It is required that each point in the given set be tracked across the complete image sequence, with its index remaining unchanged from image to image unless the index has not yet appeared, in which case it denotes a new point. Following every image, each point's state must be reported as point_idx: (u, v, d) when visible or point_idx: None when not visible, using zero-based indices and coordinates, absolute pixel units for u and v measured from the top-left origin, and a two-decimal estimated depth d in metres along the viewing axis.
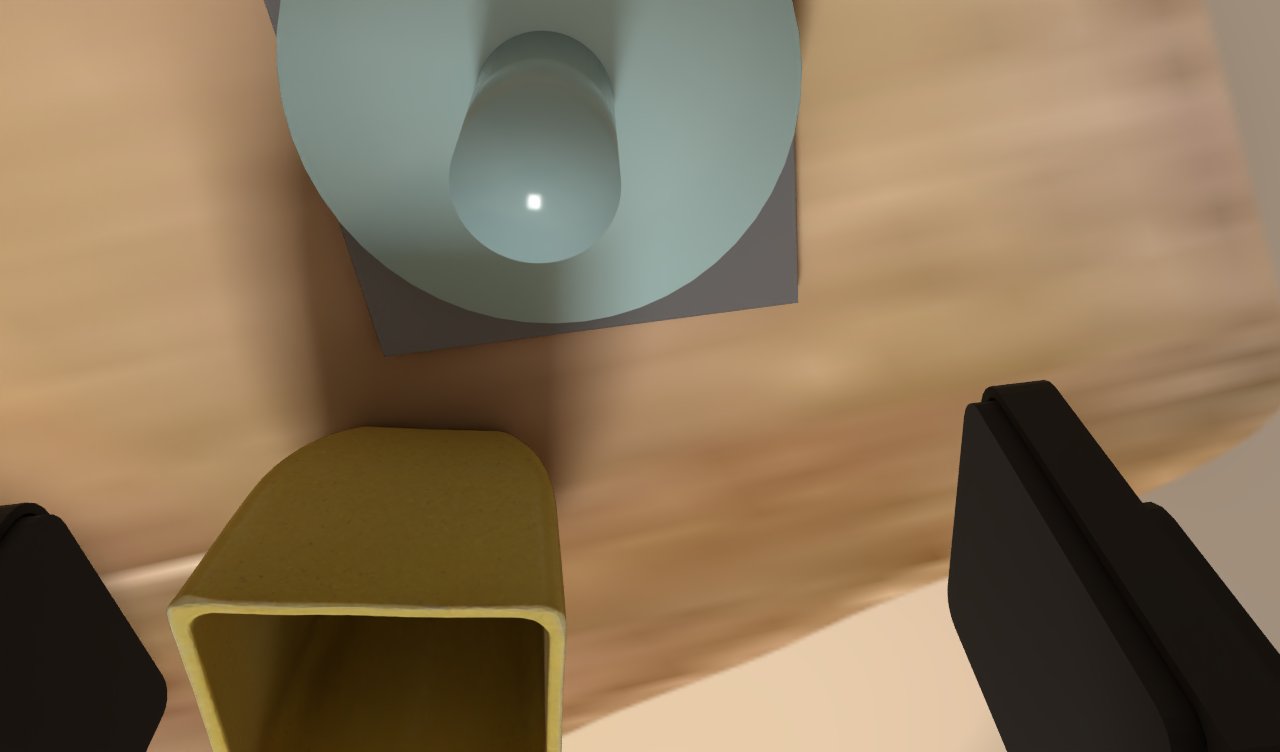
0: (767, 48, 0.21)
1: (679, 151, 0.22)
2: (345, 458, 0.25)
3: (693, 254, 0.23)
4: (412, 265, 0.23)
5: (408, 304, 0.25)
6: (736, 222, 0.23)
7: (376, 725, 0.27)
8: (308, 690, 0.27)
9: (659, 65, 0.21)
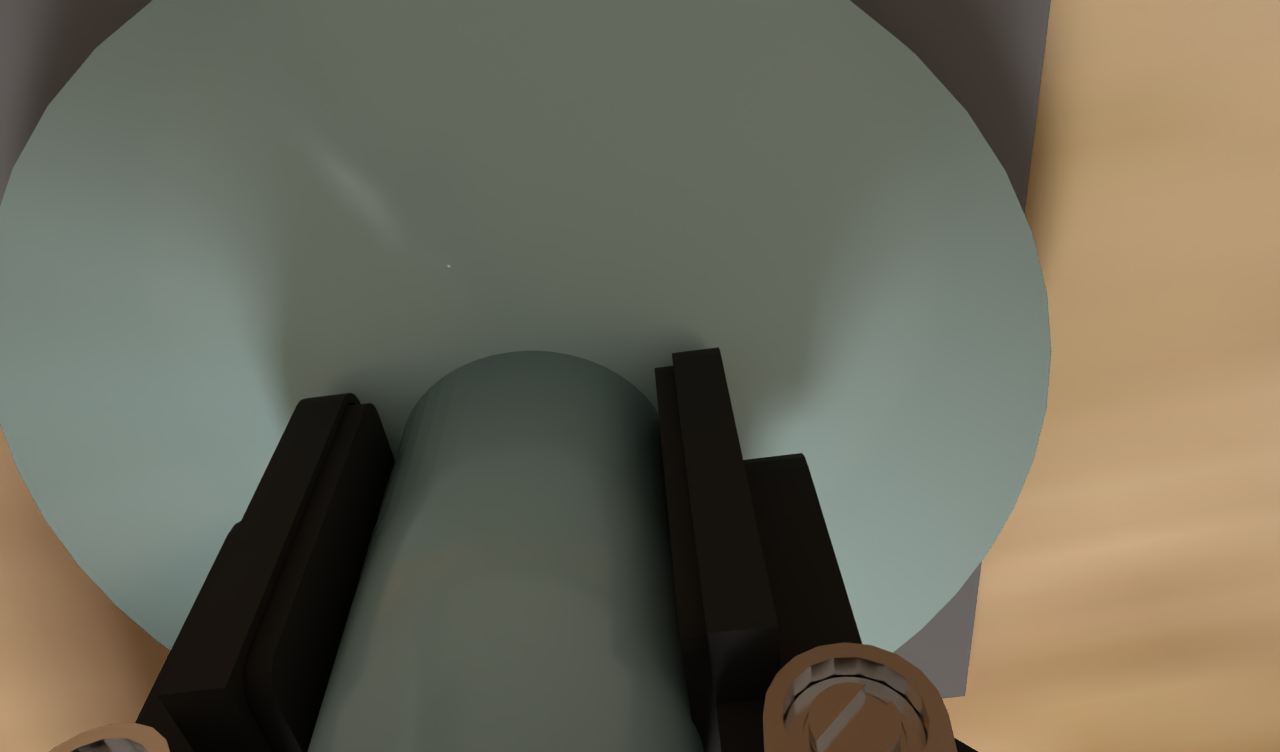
0: (983, 376, 0.10)
1: None
2: None
3: None
4: None
5: None
6: (886, 633, 0.13)
7: None
8: None
9: (766, 405, 0.10)
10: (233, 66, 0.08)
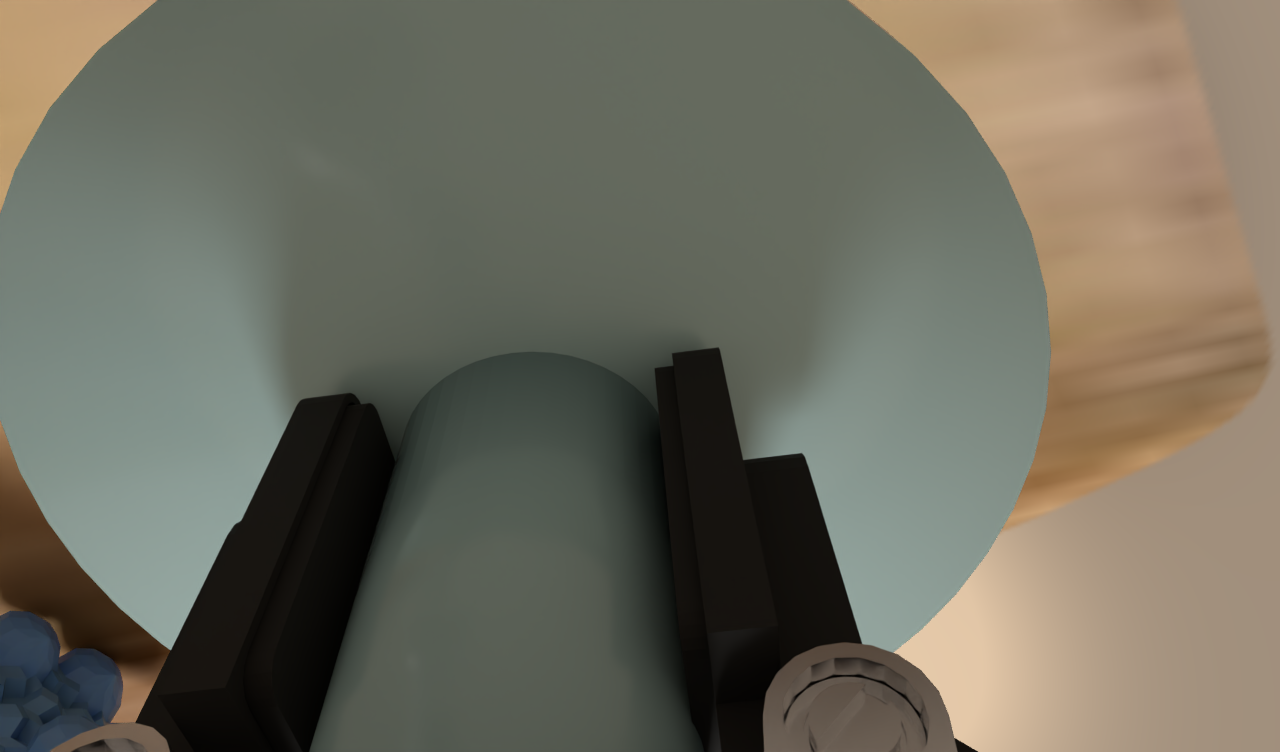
0: (984, 377, 0.10)
1: None
2: None
3: None
4: None
5: None
6: (886, 634, 0.13)
7: None
8: None
9: (766, 405, 0.10)
10: (235, 68, 0.08)
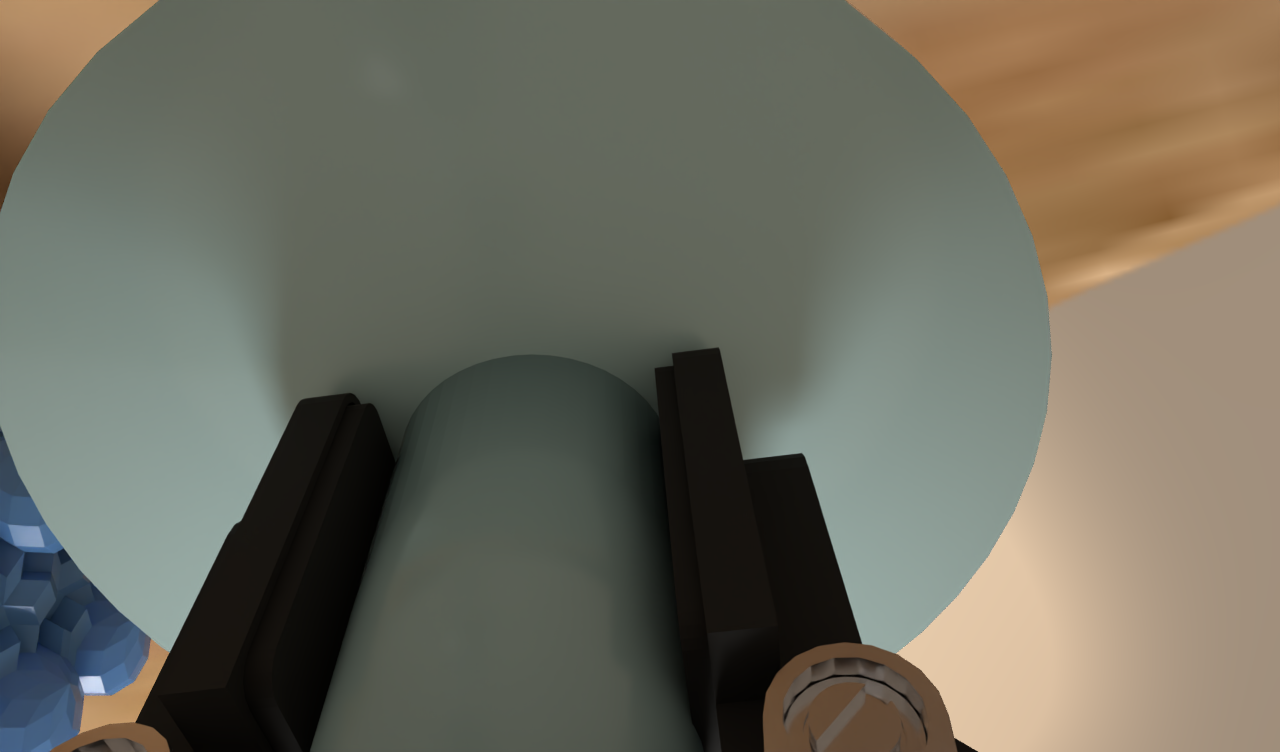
0: (984, 380, 0.10)
1: None
2: None
3: None
4: None
5: None
6: (886, 636, 0.13)
7: None
8: None
9: (767, 409, 0.10)
10: (234, 71, 0.08)
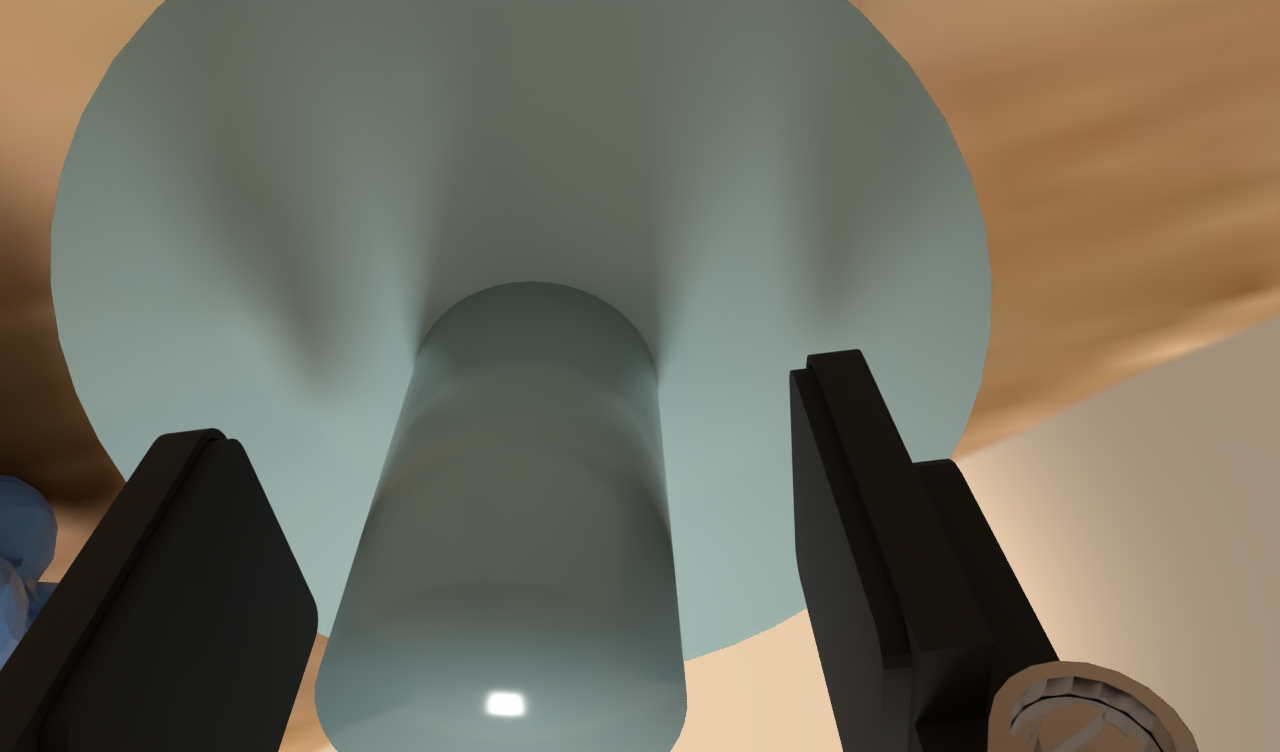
0: (933, 306, 0.12)
1: (766, 456, 0.13)
2: None
3: (779, 593, 0.14)
4: (320, 611, 0.14)
5: None
6: None
7: None
8: None
9: (739, 332, 0.12)
10: (274, 24, 0.09)
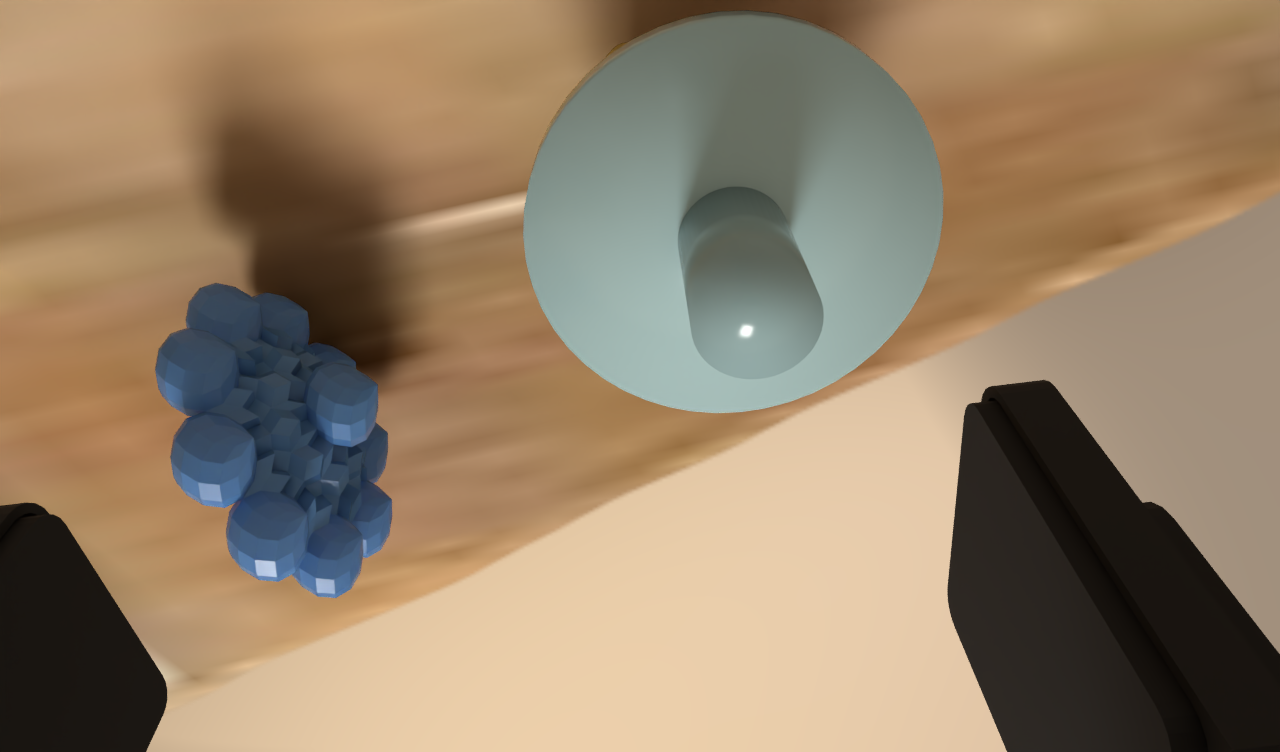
0: (917, 203, 0.26)
1: (836, 279, 0.27)
2: None
3: (838, 360, 0.28)
4: (606, 364, 0.28)
5: None
6: (877, 336, 0.28)
7: None
8: None
9: (828, 214, 0.26)
10: (652, 73, 0.23)
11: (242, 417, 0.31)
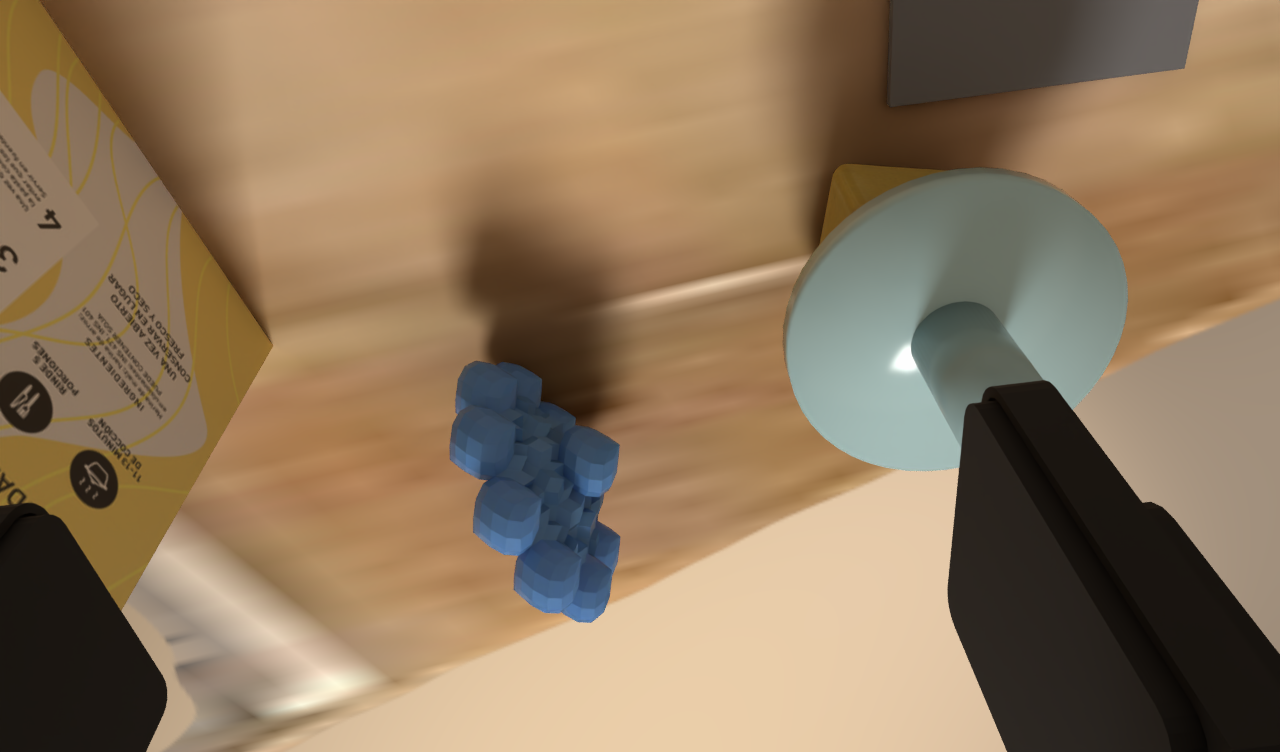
0: (1105, 309, 0.32)
1: (1035, 368, 0.33)
2: (880, 167, 0.36)
3: None
4: (840, 436, 0.34)
5: (919, 64, 0.36)
6: None
7: None
8: None
9: (1034, 319, 0.32)
10: (908, 221, 0.30)
11: (523, 479, 0.37)
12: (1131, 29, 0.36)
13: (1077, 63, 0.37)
